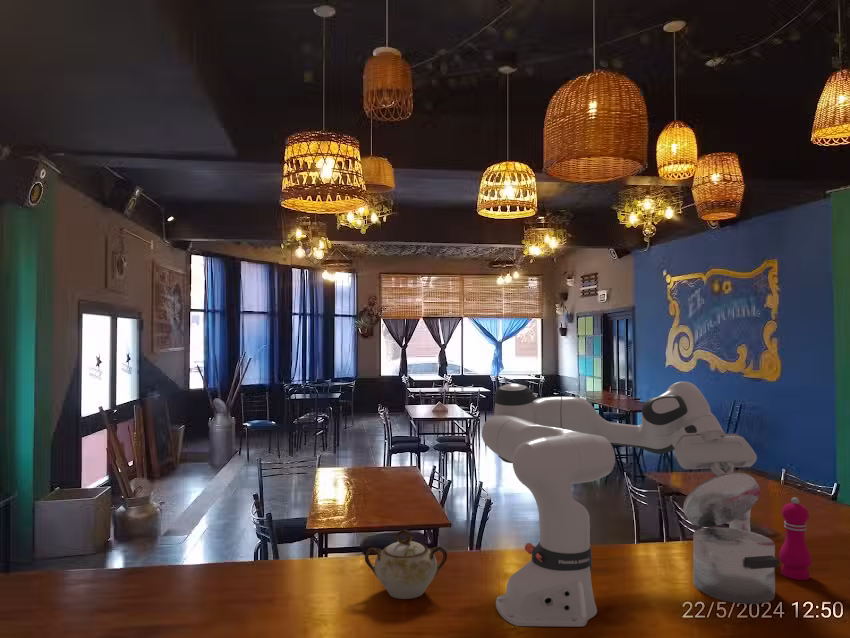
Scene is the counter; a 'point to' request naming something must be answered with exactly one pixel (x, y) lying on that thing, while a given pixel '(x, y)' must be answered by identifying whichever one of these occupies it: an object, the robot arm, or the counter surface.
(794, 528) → the pepper mill
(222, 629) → the counter surface
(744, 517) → the silver metal bottle
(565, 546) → the robot arm
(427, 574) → the sugar bowl
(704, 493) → the cooker lid
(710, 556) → the cooker pot
